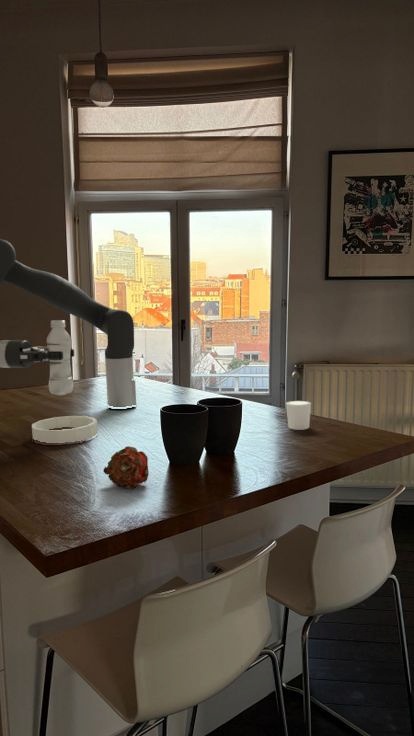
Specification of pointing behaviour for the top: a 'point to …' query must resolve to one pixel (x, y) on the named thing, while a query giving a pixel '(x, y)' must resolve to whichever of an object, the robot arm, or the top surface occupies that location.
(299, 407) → the white cup
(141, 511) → the top surface
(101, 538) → the top surface
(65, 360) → the plastic bottle
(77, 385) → the top surface
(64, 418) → the bowl
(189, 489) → the top surface
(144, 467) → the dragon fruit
